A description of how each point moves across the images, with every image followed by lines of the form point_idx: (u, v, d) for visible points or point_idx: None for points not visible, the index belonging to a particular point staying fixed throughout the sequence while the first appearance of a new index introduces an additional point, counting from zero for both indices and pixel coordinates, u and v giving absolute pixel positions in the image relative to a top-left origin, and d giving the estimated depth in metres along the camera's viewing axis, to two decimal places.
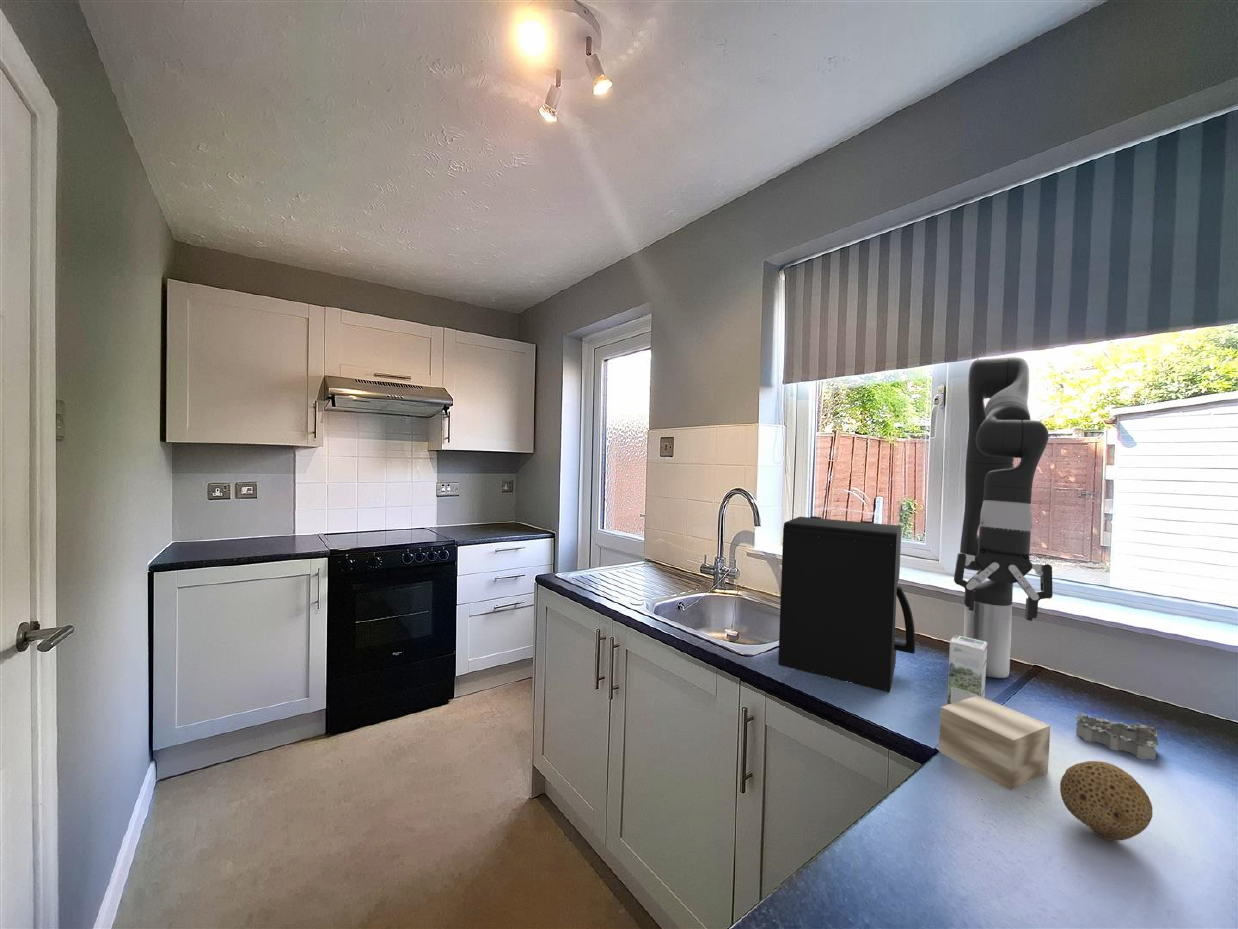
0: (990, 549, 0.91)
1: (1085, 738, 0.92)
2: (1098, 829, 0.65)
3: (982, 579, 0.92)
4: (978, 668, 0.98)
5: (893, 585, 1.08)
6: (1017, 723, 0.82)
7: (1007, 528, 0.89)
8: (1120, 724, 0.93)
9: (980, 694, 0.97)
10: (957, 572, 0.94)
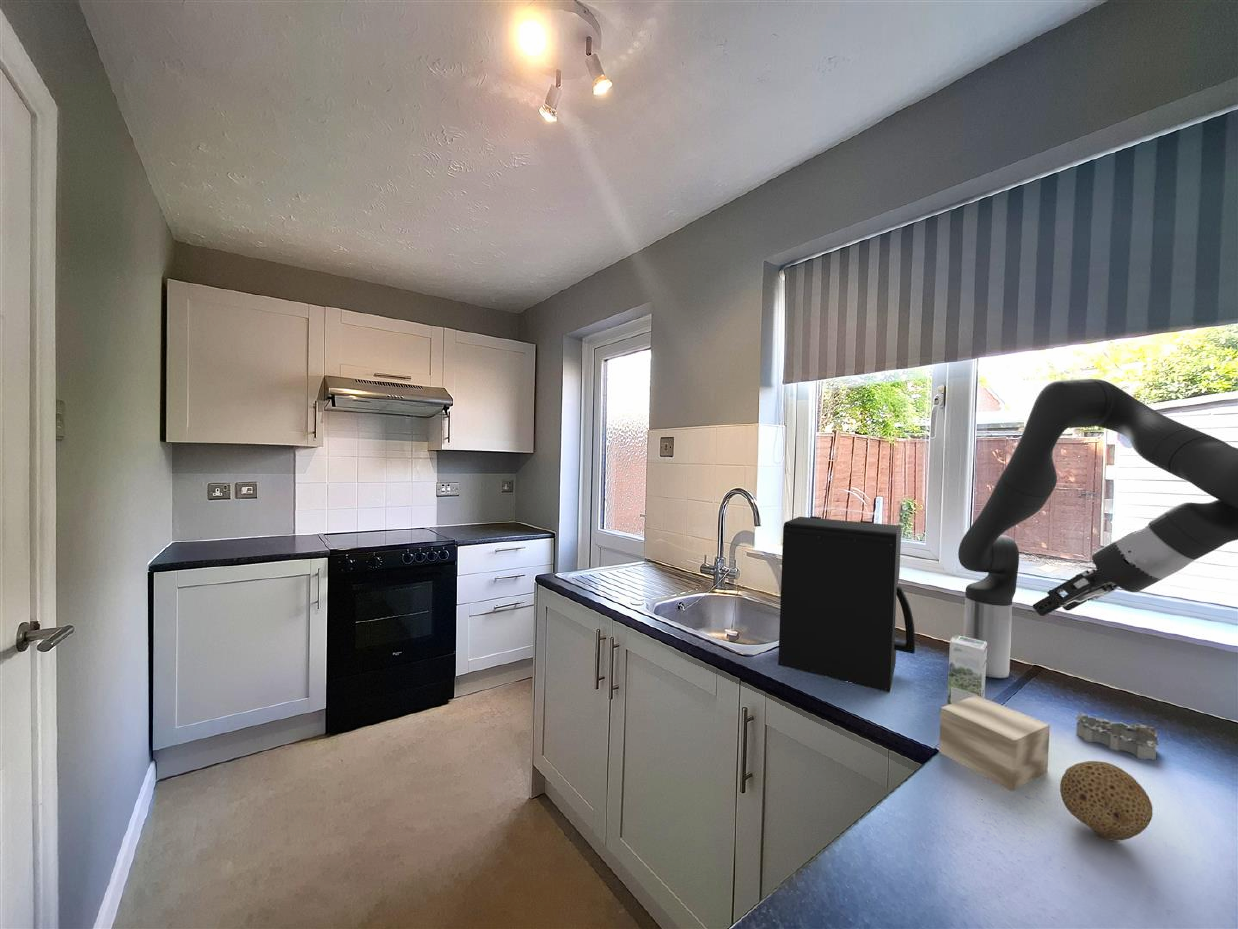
0: (1125, 589, 0.79)
1: (1085, 738, 0.92)
2: (1098, 829, 0.65)
3: (1082, 601, 0.83)
4: (978, 668, 0.98)
5: (893, 585, 1.08)
6: (1017, 723, 0.82)
7: (1162, 578, 0.76)
8: (1120, 724, 0.93)
9: (980, 694, 0.97)
10: (1071, 599, 0.81)
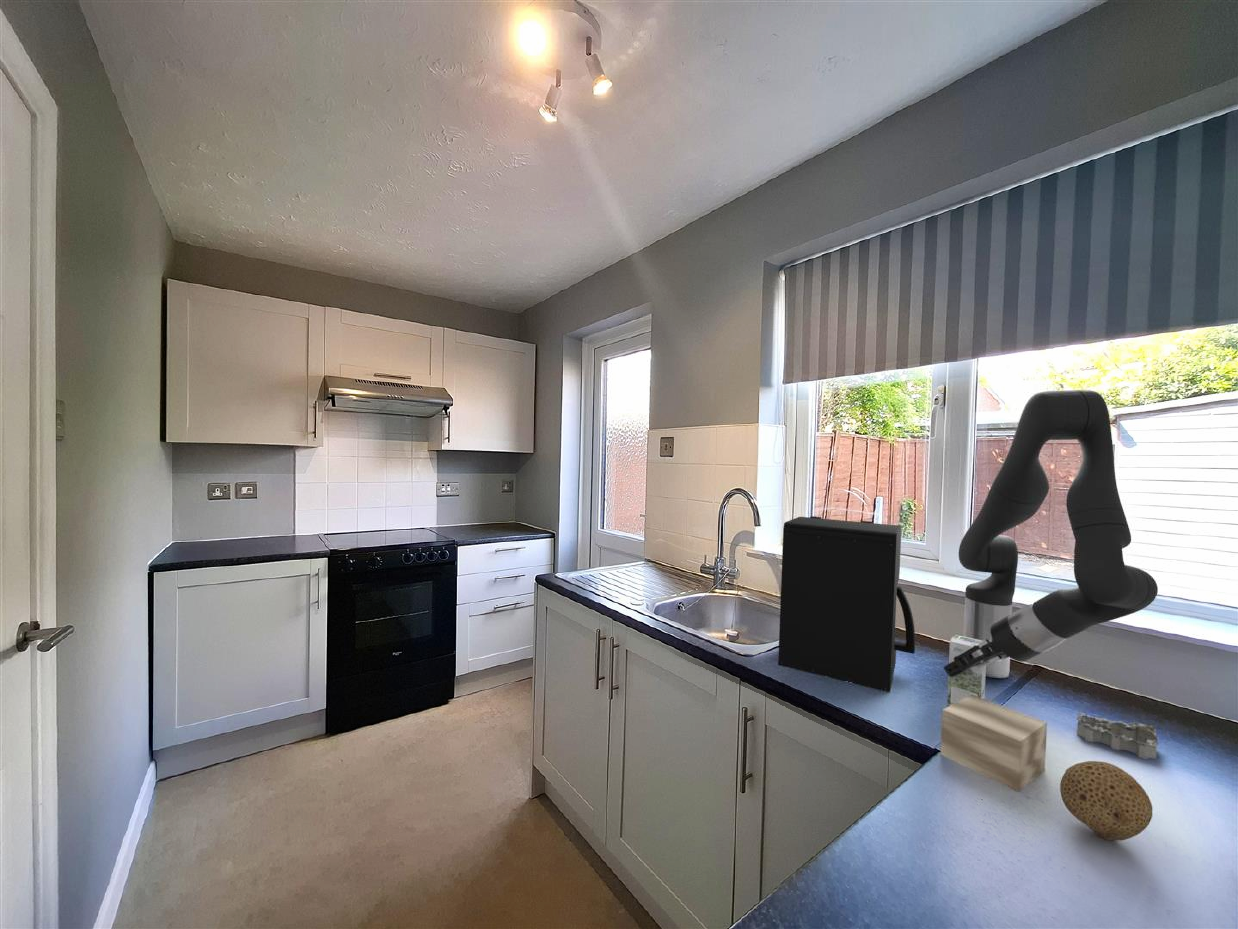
0: (1014, 659, 0.92)
1: (1086, 738, 0.92)
2: (1098, 829, 0.65)
3: (982, 666, 0.96)
4: (978, 668, 0.98)
5: (893, 585, 1.08)
6: (1017, 722, 0.82)
7: None
8: (1119, 723, 0.93)
9: (980, 694, 0.97)
10: (970, 666, 0.95)
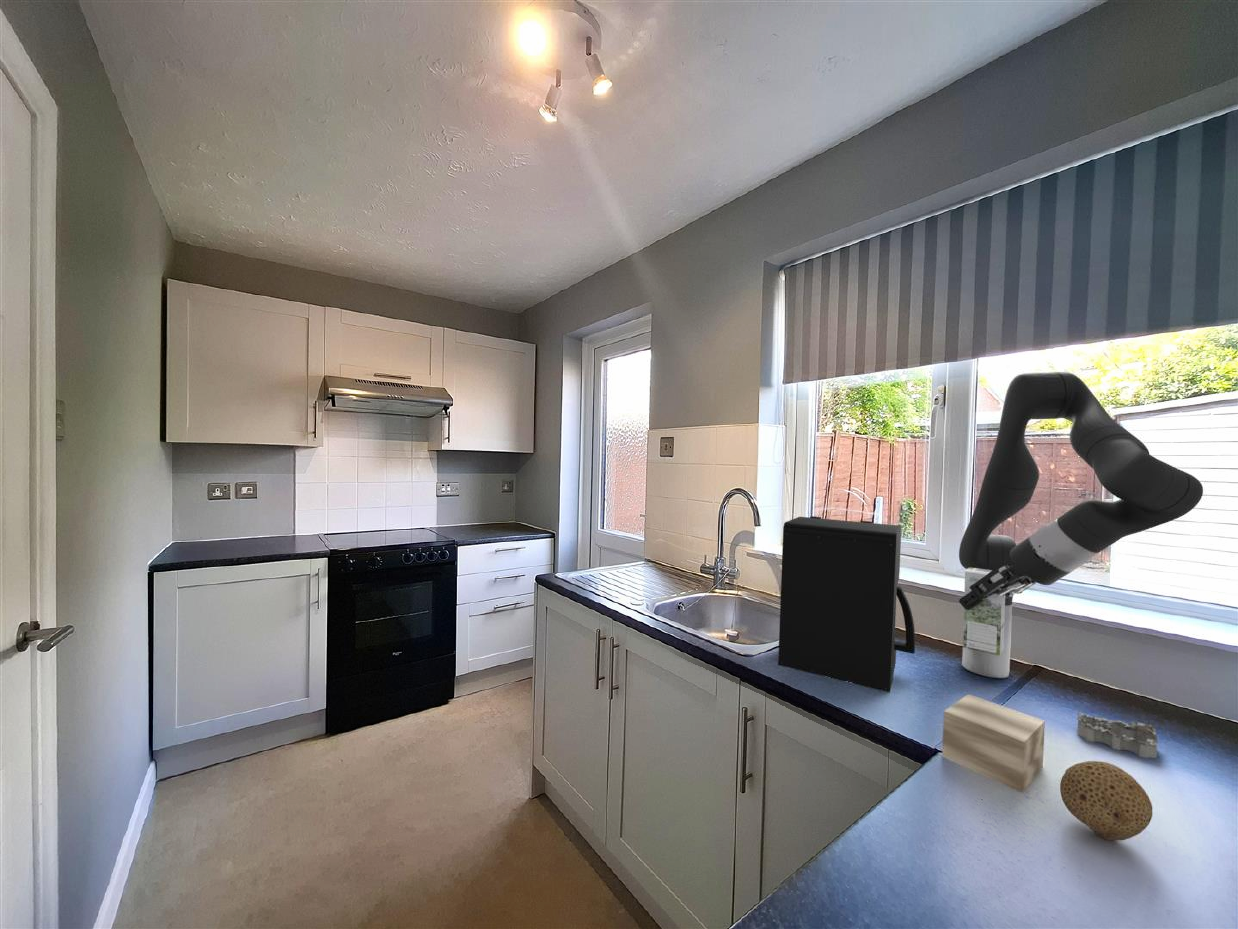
0: (1038, 582, 0.83)
1: (1087, 738, 0.92)
2: (1098, 829, 0.65)
3: (1001, 594, 0.88)
4: (997, 598, 0.89)
5: (893, 585, 1.08)
6: (1017, 721, 0.83)
7: (1070, 571, 0.81)
8: (1118, 722, 0.94)
9: (1000, 626, 0.89)
10: (988, 593, 0.86)
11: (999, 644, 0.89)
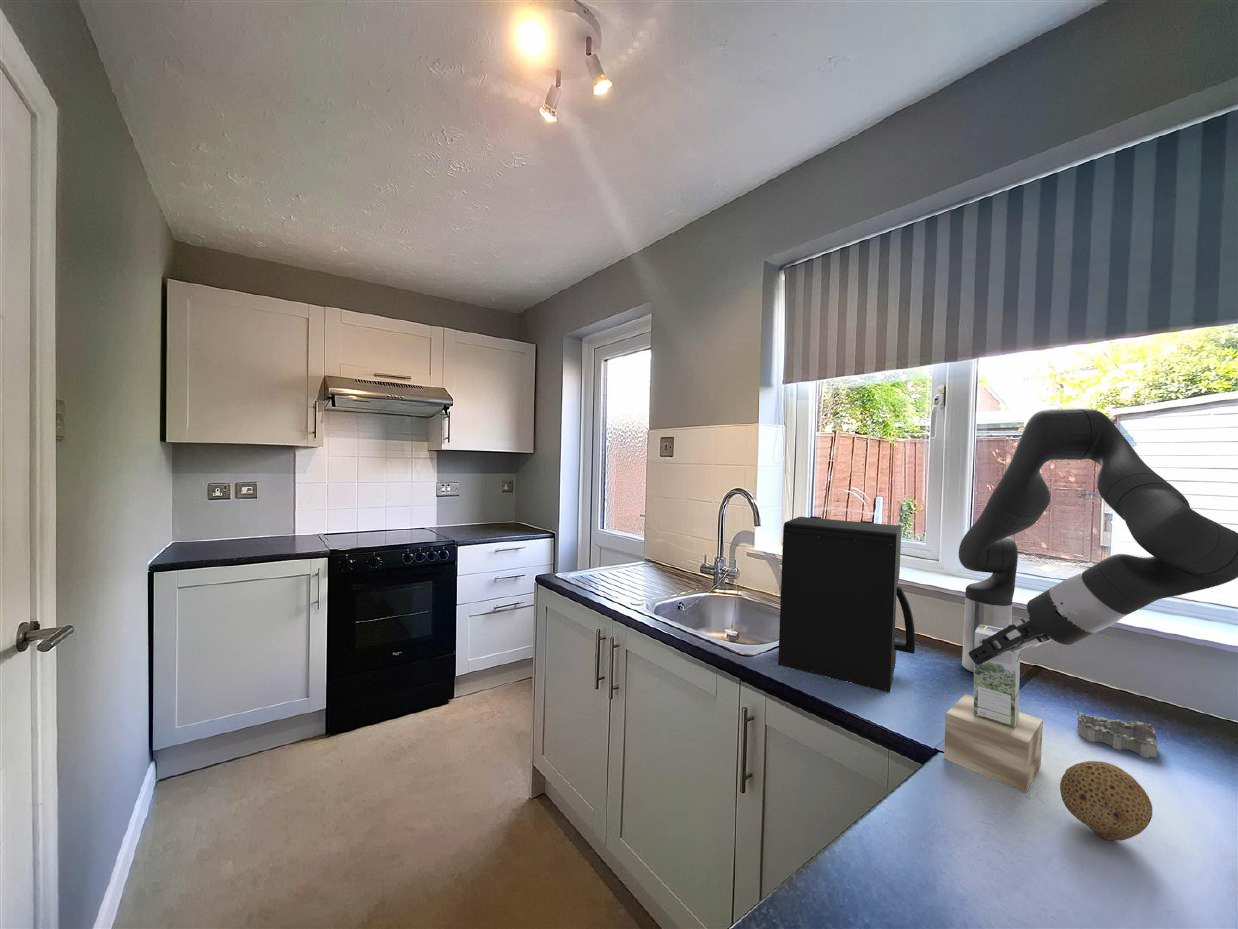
0: (1058, 642, 0.75)
1: (1088, 738, 0.92)
2: (1098, 829, 0.65)
3: (1016, 651, 0.79)
4: (1010, 664, 0.80)
5: (893, 585, 1.08)
6: (1017, 721, 0.83)
7: (1095, 632, 0.73)
8: (1117, 722, 0.94)
9: (1014, 695, 0.80)
10: (1003, 650, 0.77)
11: (1013, 715, 0.80)
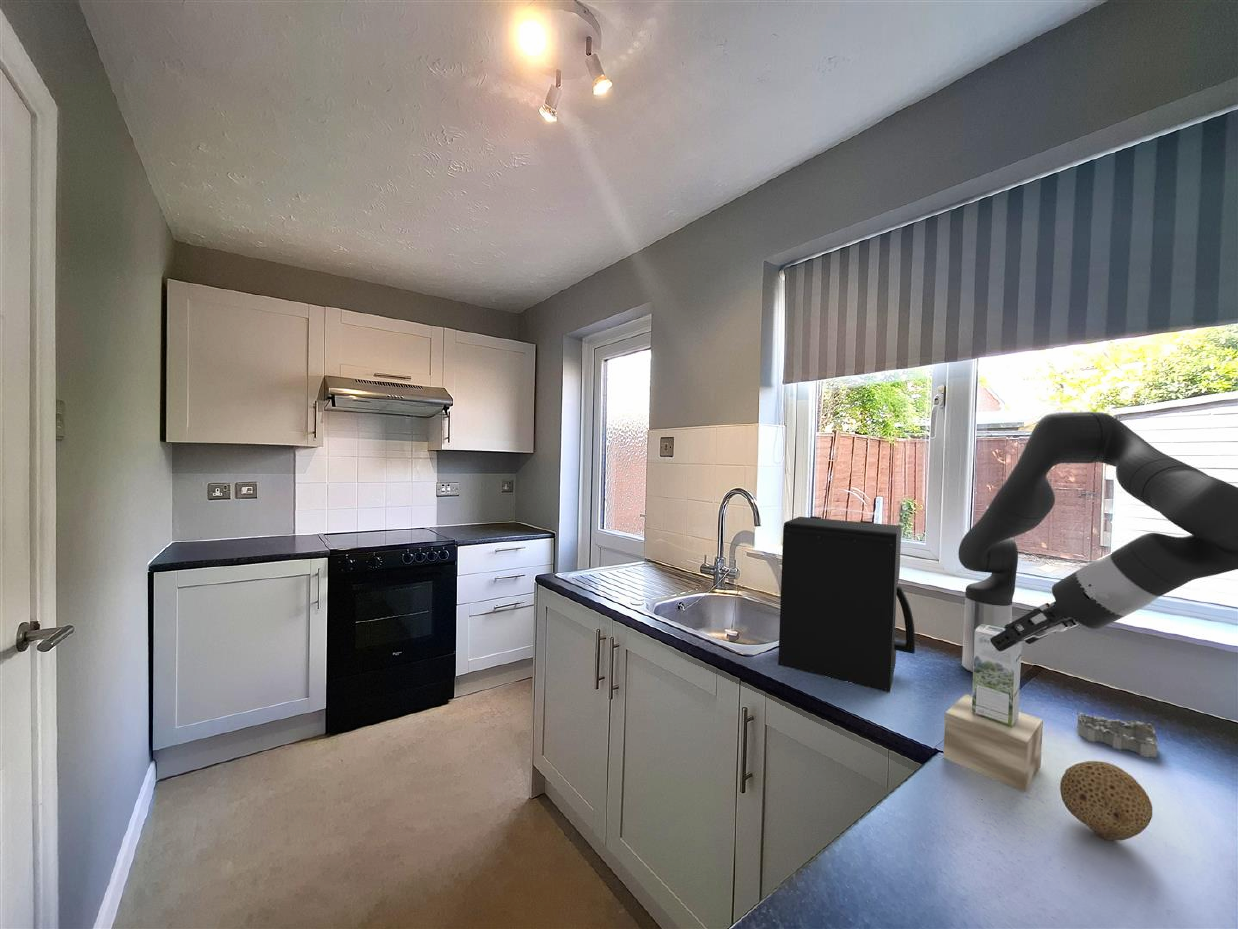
0: (1086, 626, 0.72)
1: (1088, 738, 0.92)
2: (1098, 829, 0.65)
3: (1041, 637, 0.76)
4: (1009, 663, 0.81)
5: (893, 585, 1.08)
6: (1017, 721, 0.83)
7: (1126, 615, 0.70)
8: (1117, 721, 0.94)
9: (1012, 694, 0.81)
10: (1028, 635, 0.74)
11: (1011, 714, 0.81)
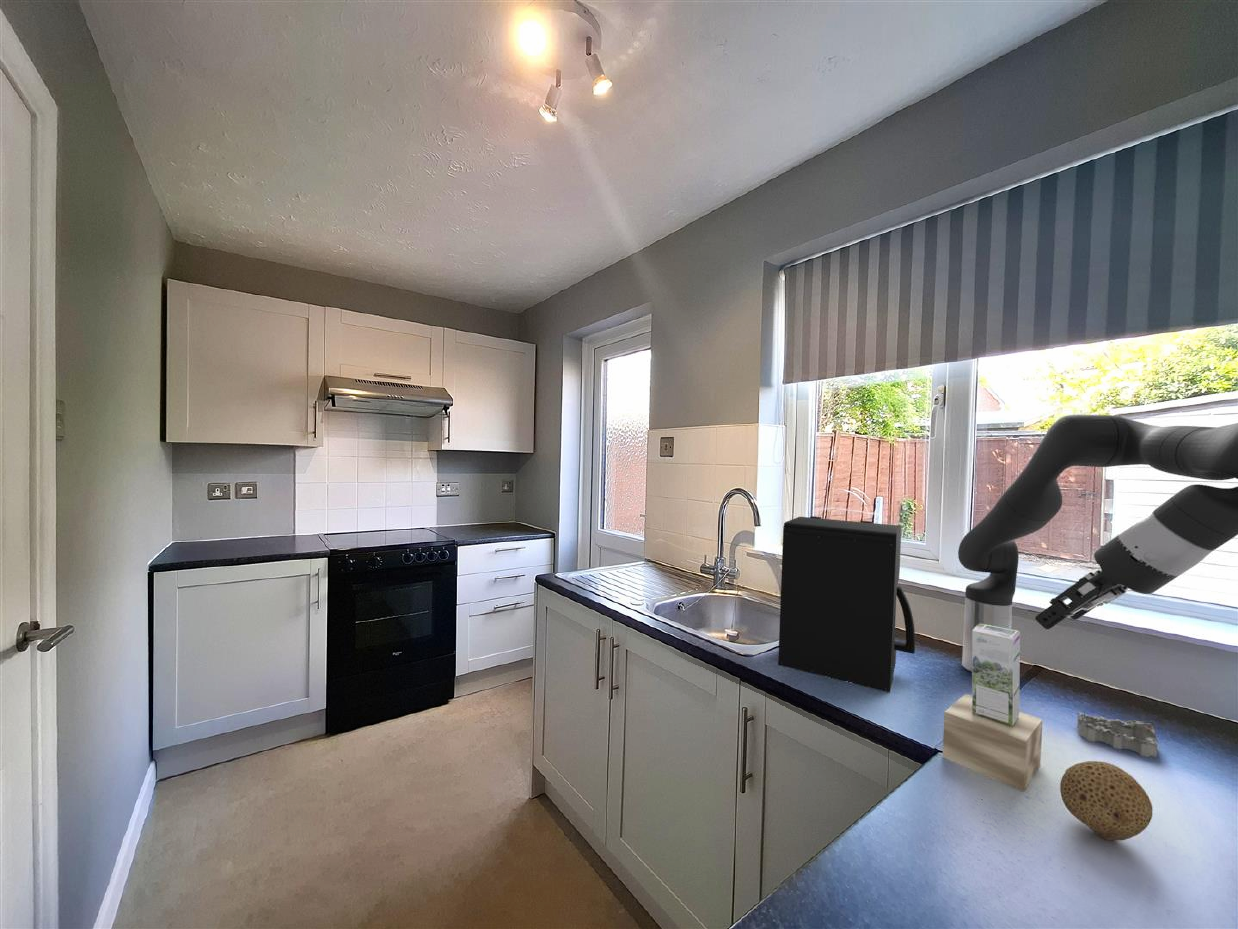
0: (1138, 591, 0.68)
1: (1089, 738, 0.92)
2: (1098, 829, 0.65)
3: (1090, 608, 0.72)
4: (1007, 662, 0.81)
5: (893, 585, 1.08)
6: (1016, 721, 0.83)
7: (1179, 575, 0.66)
8: (1117, 721, 0.94)
9: (1011, 694, 0.81)
10: (1077, 607, 0.70)
11: (1011, 713, 0.81)
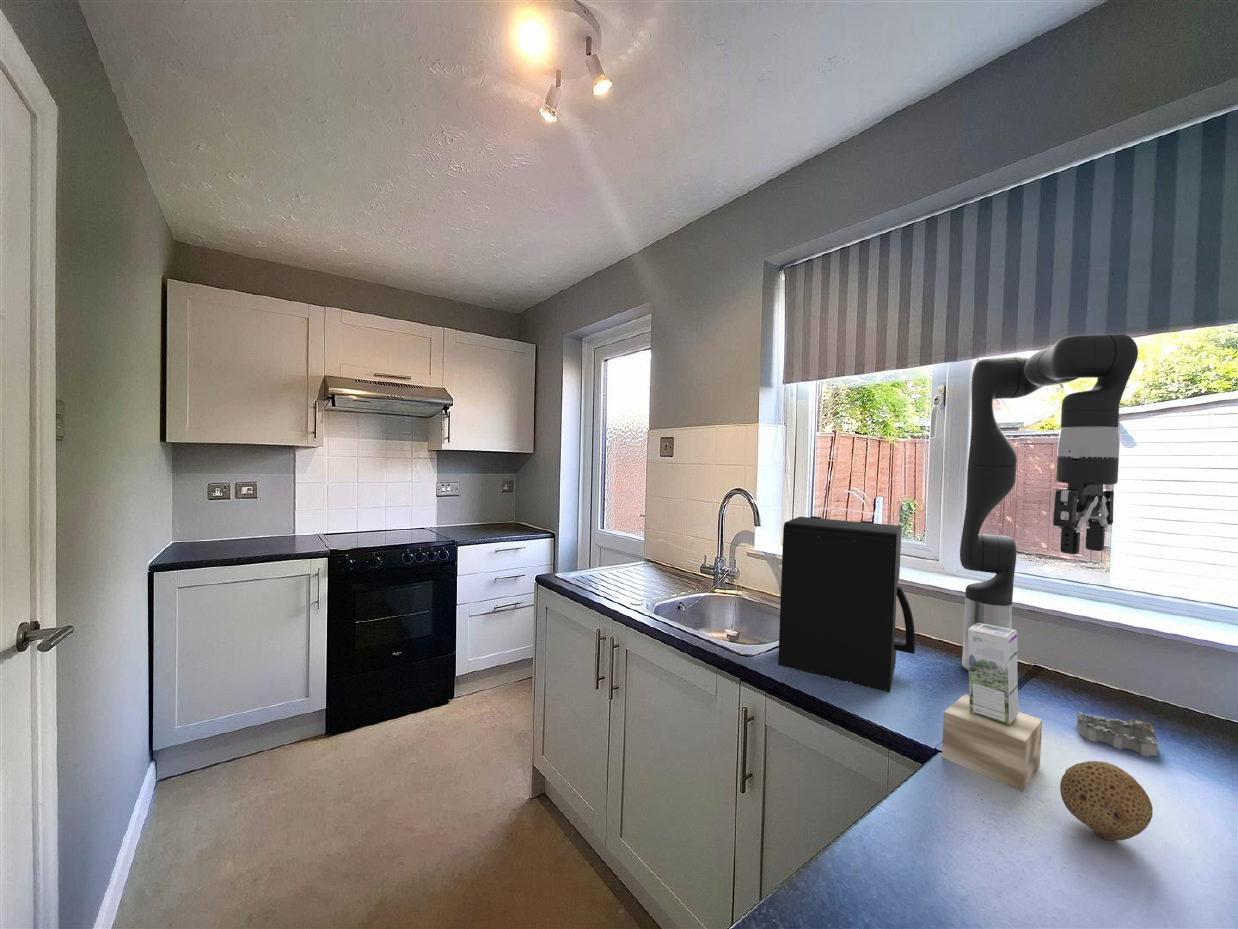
0: (1103, 482, 0.80)
1: (1089, 738, 0.92)
2: (1098, 829, 0.65)
3: (1088, 517, 0.81)
4: (1003, 661, 0.81)
5: (893, 585, 1.08)
6: (1016, 721, 0.83)
7: (1116, 456, 0.80)
8: (1116, 721, 0.94)
9: (1007, 692, 0.81)
10: (1073, 513, 0.79)
11: (1007, 712, 0.81)
